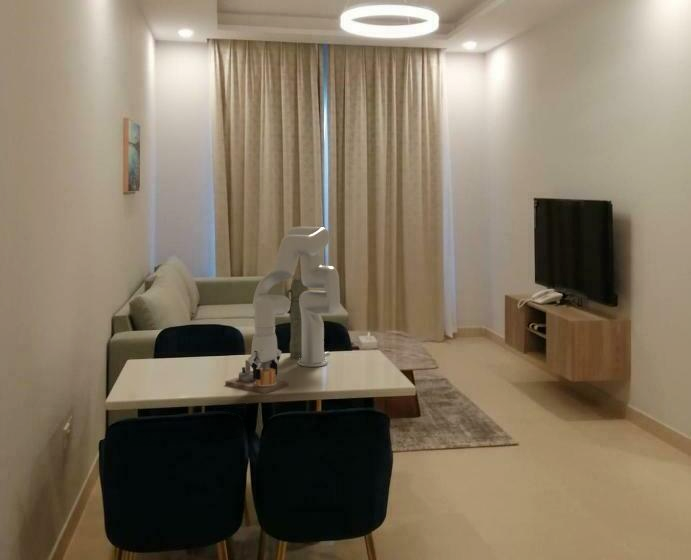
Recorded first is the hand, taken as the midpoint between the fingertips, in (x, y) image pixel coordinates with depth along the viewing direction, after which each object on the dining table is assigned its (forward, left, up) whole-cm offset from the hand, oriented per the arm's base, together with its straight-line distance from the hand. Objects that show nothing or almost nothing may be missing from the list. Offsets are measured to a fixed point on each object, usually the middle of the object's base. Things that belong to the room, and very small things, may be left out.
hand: (265, 376), depth 257 cm
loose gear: (0, 0, -2) cm, 2 cm away
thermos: (-47, -22, -4) cm, 52 cm away
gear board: (0, -4, -4) cm, 6 cm away
